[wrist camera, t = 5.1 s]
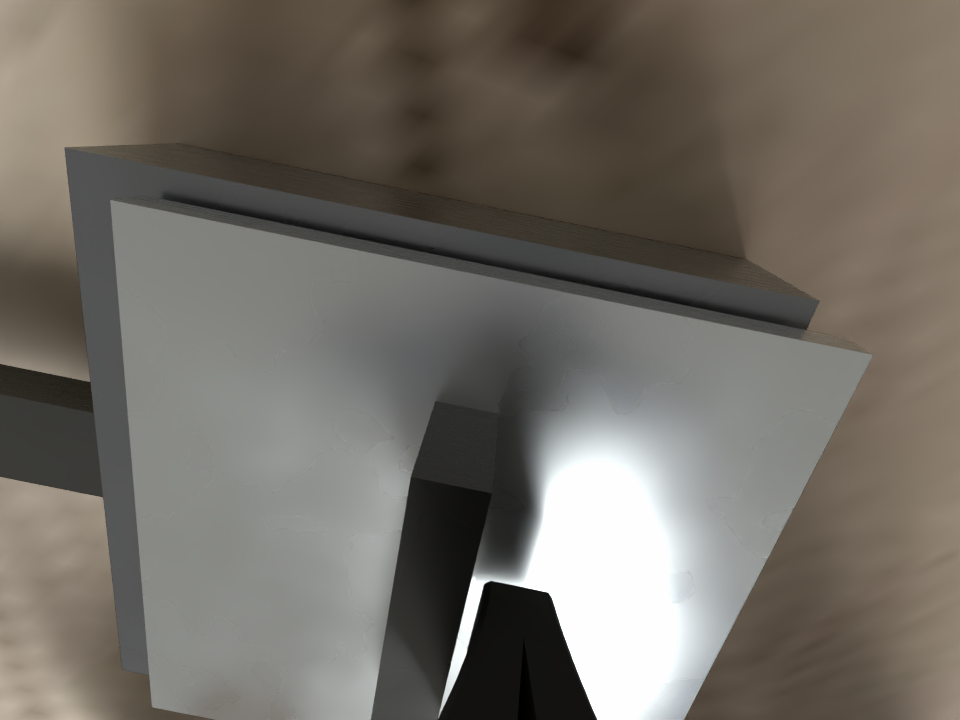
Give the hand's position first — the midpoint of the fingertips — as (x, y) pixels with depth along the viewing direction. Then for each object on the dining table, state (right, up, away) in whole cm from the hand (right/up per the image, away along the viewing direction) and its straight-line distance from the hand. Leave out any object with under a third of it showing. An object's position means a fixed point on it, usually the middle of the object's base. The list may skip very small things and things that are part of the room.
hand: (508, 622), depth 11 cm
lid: (-1, +1, +2) cm, 2 cm away
